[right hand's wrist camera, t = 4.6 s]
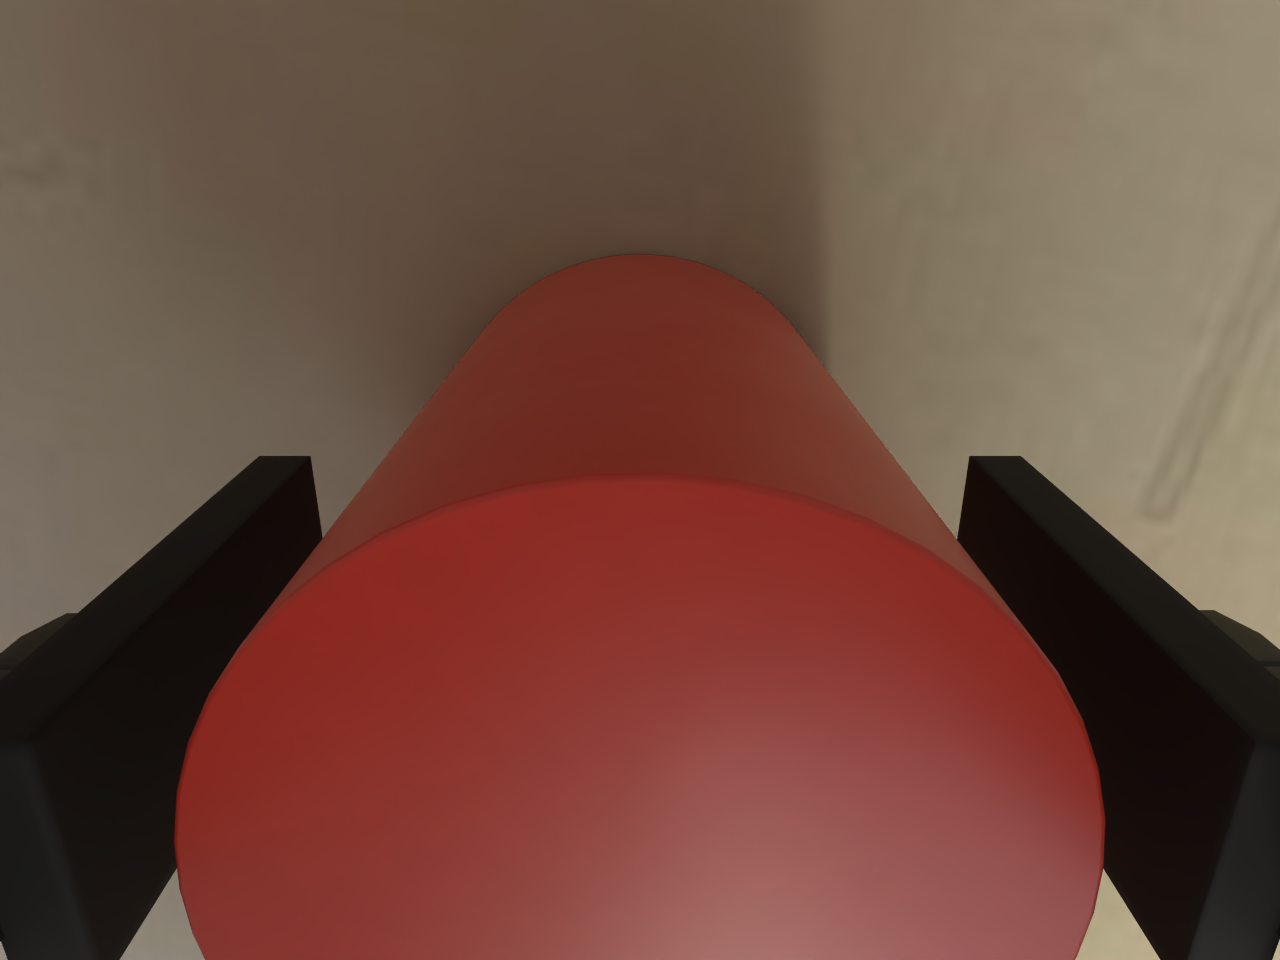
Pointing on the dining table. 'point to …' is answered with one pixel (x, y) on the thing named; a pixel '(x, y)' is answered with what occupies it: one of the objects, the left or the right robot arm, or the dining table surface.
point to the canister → (639, 678)
